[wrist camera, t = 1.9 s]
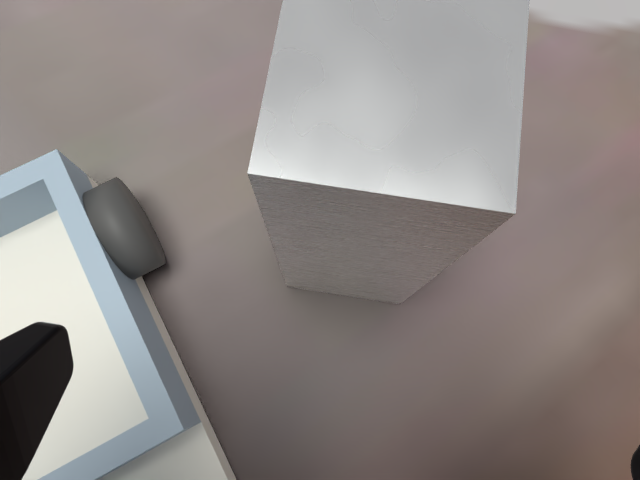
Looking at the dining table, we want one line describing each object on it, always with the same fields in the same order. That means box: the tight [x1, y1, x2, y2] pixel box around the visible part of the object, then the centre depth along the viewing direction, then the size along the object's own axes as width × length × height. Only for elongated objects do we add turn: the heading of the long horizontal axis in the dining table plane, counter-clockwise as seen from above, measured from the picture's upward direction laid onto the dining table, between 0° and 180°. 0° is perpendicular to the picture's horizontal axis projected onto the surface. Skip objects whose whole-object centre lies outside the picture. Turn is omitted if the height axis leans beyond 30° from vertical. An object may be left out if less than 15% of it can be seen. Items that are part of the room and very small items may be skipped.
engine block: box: [248, 0, 530, 304], centre depth 15 cm, size 4×4×12 cm
